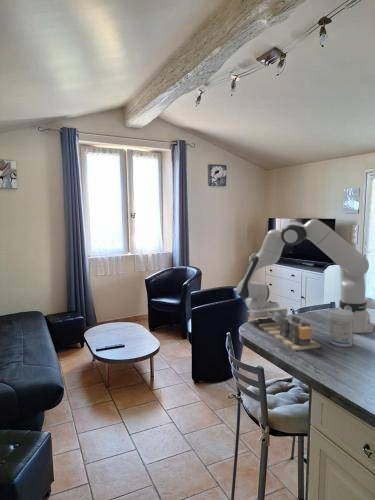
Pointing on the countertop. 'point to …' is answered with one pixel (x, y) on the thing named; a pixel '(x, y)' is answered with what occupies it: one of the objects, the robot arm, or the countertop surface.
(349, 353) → the countertop surface
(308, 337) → the orange block
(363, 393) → the countertop surface
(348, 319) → the supplement tub
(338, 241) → the robot arm
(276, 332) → the wooden board
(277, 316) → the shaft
